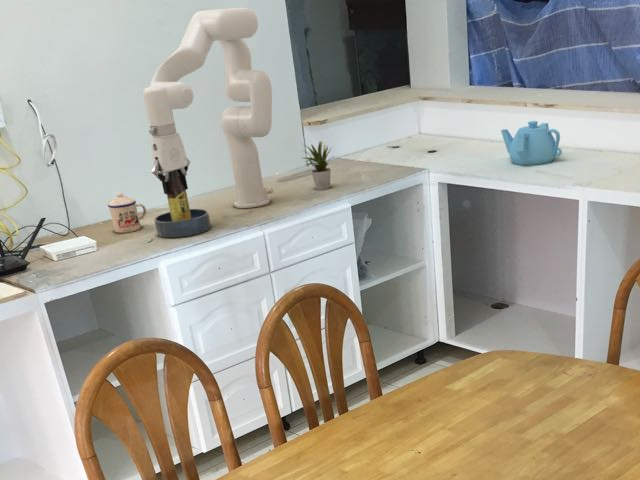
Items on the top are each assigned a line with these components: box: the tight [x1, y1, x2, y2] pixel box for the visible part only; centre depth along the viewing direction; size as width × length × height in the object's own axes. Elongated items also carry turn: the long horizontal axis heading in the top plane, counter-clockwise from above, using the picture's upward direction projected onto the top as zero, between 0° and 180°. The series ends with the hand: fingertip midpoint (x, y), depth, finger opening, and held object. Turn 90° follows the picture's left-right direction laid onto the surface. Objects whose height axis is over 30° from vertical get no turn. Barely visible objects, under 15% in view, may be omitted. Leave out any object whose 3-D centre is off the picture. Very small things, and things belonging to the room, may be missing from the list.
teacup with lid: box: [107, 192, 147, 234], centre depth 309 cm, size 12×9×12 cm
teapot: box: [500, 120, 563, 166], centre depth 346 cm, size 19×19×14 cm
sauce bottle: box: [166, 169, 192, 222], centre depth 297 cm, size 7×6×20 cm
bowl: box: [153, 208, 212, 238], centre depth 301 cm, size 17×17×5 cm
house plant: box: [302, 140, 335, 191], centre depth 338 cm, size 14×14×16 cm
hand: (176, 191), depth 296 cm, fingers closed on sauce bottle, 6 cm apart
